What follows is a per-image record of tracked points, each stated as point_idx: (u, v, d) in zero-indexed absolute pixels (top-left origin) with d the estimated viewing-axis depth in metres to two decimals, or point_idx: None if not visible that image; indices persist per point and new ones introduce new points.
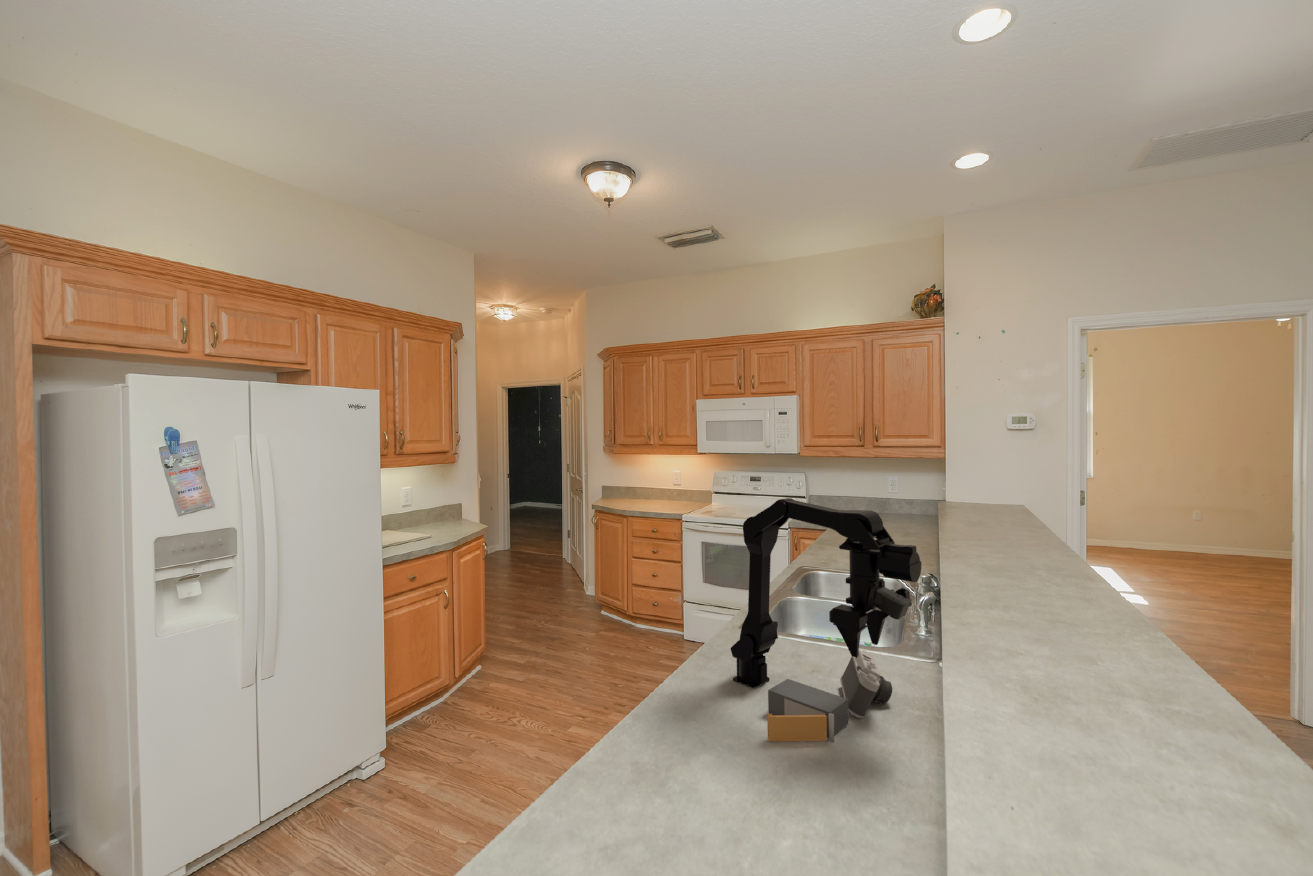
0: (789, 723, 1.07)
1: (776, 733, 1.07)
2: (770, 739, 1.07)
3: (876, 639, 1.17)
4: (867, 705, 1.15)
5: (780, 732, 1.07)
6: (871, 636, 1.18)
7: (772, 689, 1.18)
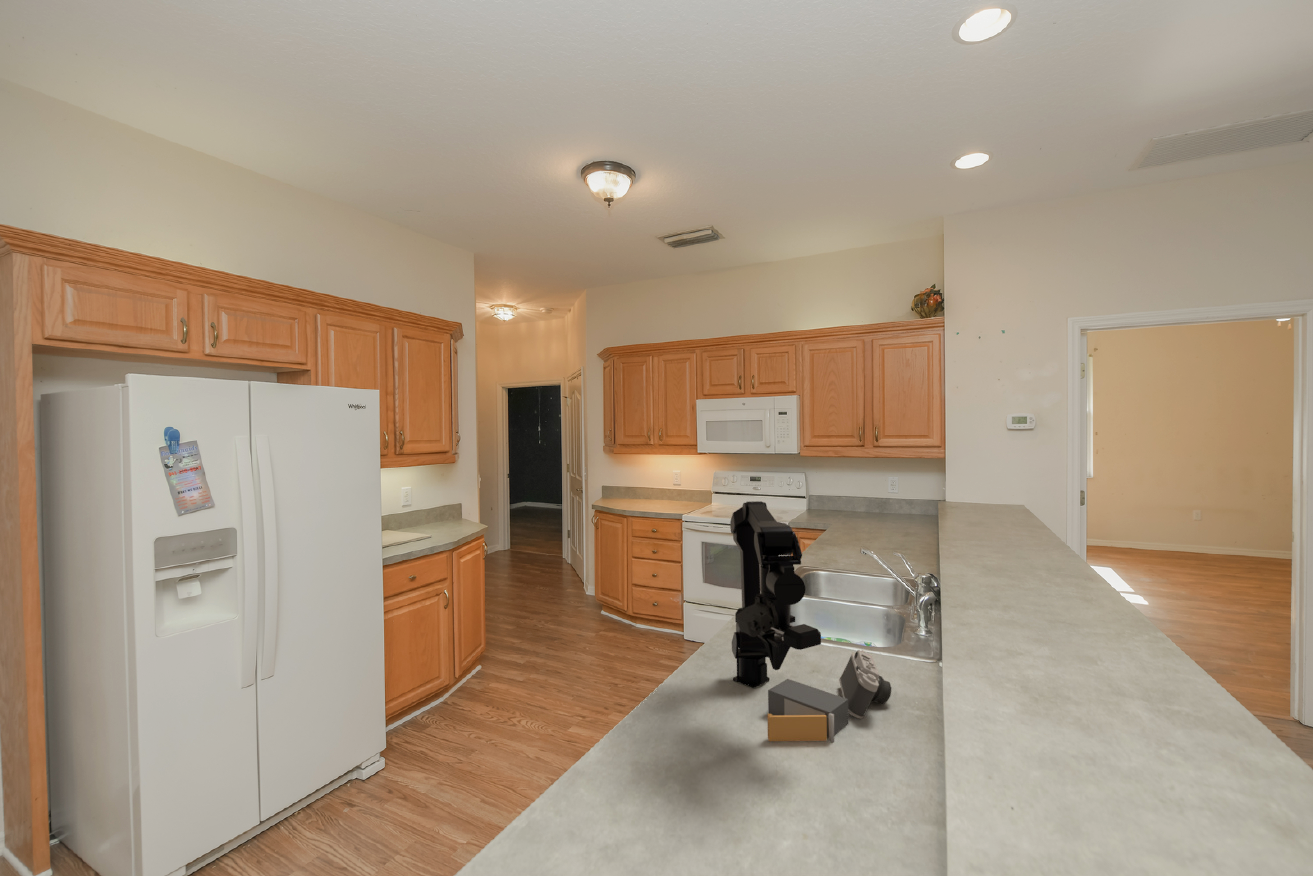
0: (789, 723, 1.07)
1: (776, 733, 1.07)
2: (770, 739, 1.07)
3: None
4: (866, 705, 1.15)
5: (780, 732, 1.07)
6: None
7: (772, 689, 1.18)
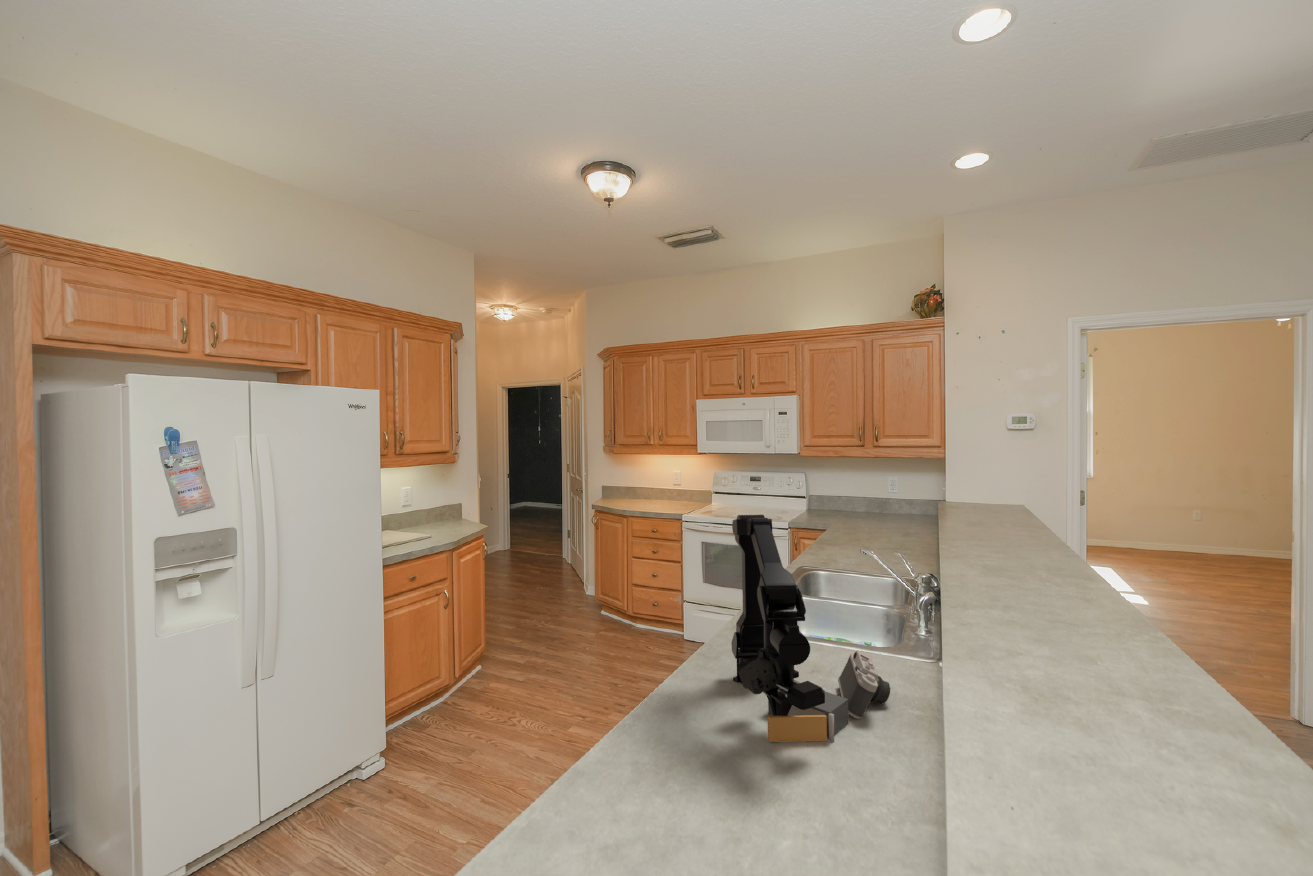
0: (789, 723, 1.07)
1: (776, 733, 1.07)
2: (770, 740, 1.07)
3: None
4: (865, 706, 1.15)
5: (780, 732, 1.07)
6: None
7: None
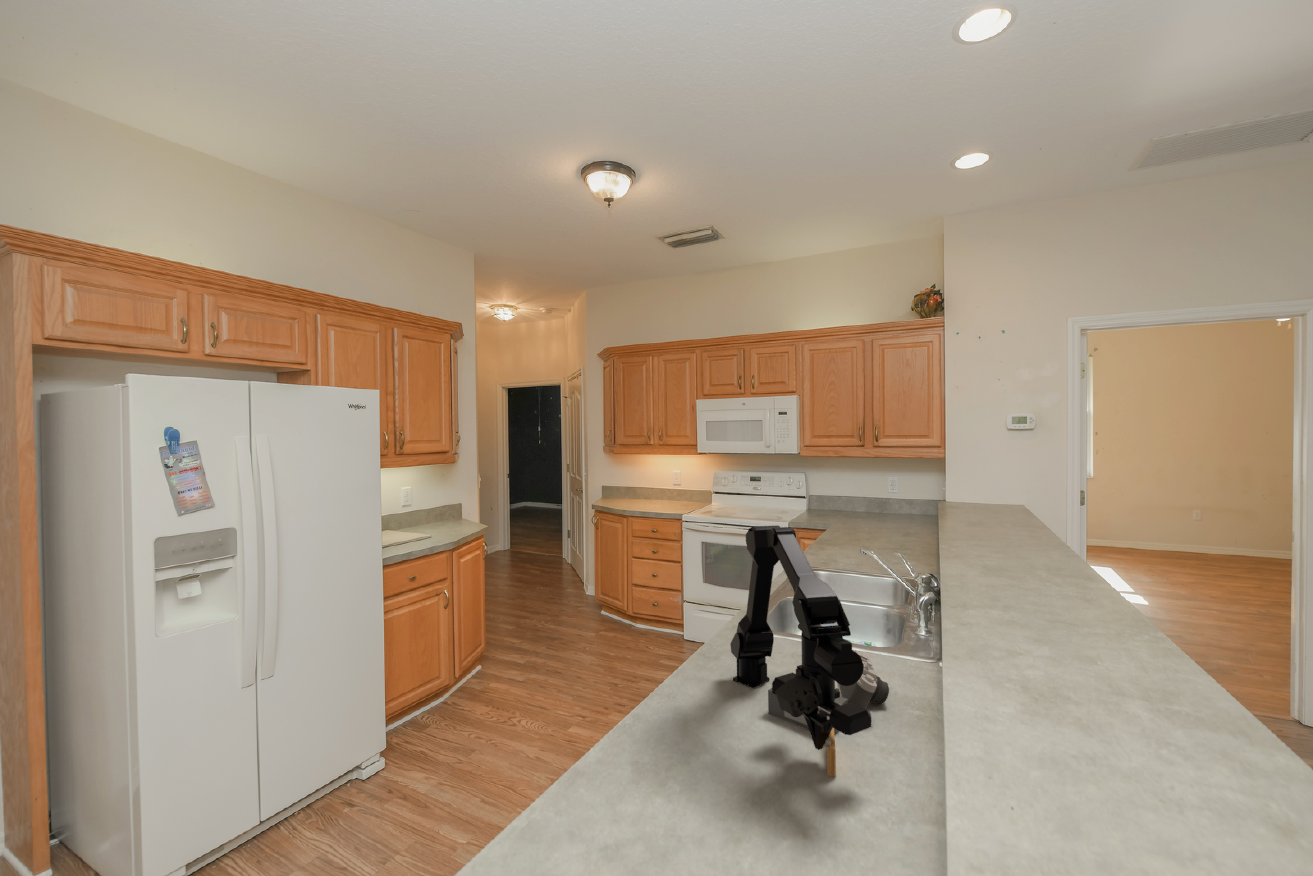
0: None
1: None
2: (835, 773, 0.96)
3: None
4: (864, 706, 1.15)
5: None
6: None
7: None
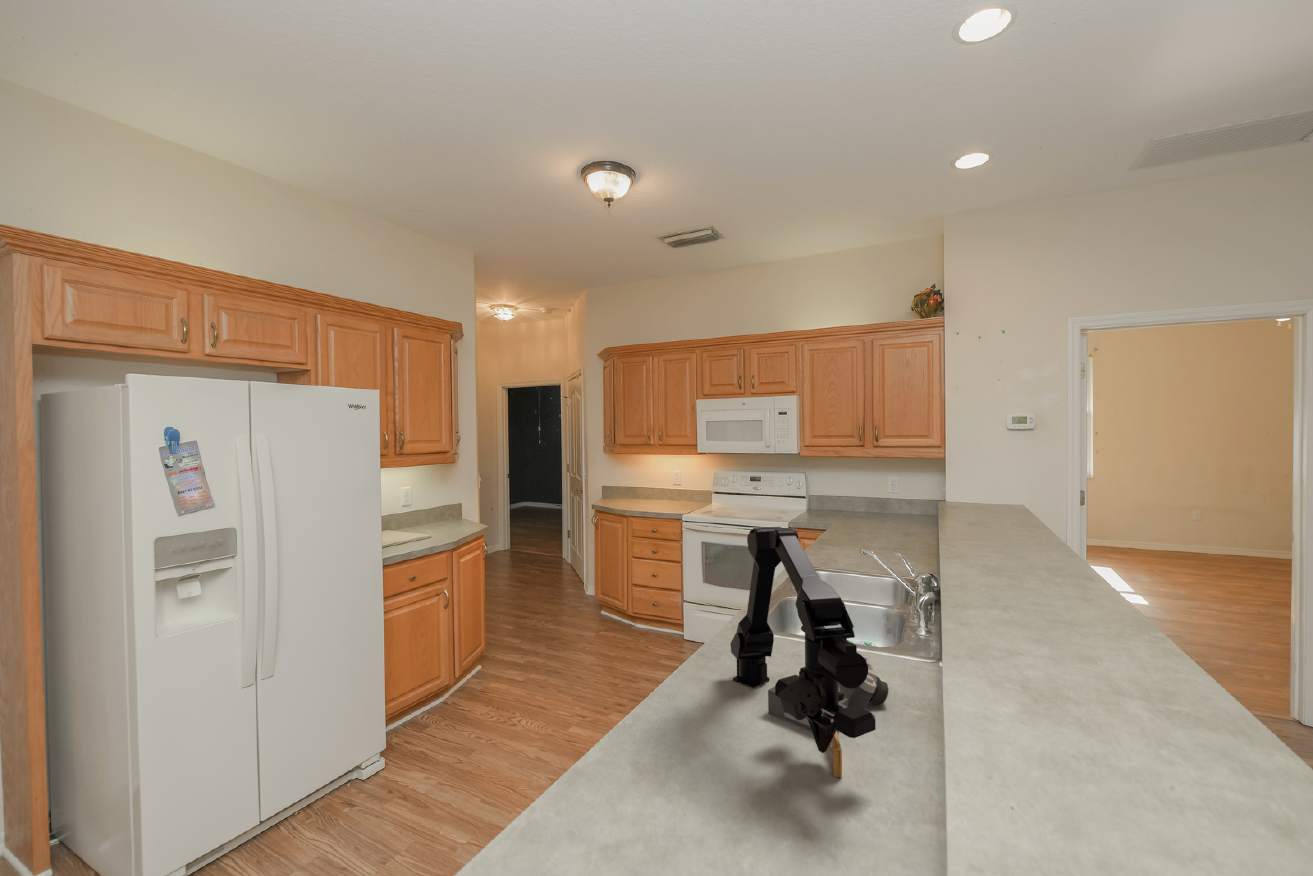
0: None
1: None
2: (841, 774, 0.96)
3: None
4: (864, 706, 1.15)
5: None
6: None
7: (772, 689, 1.18)
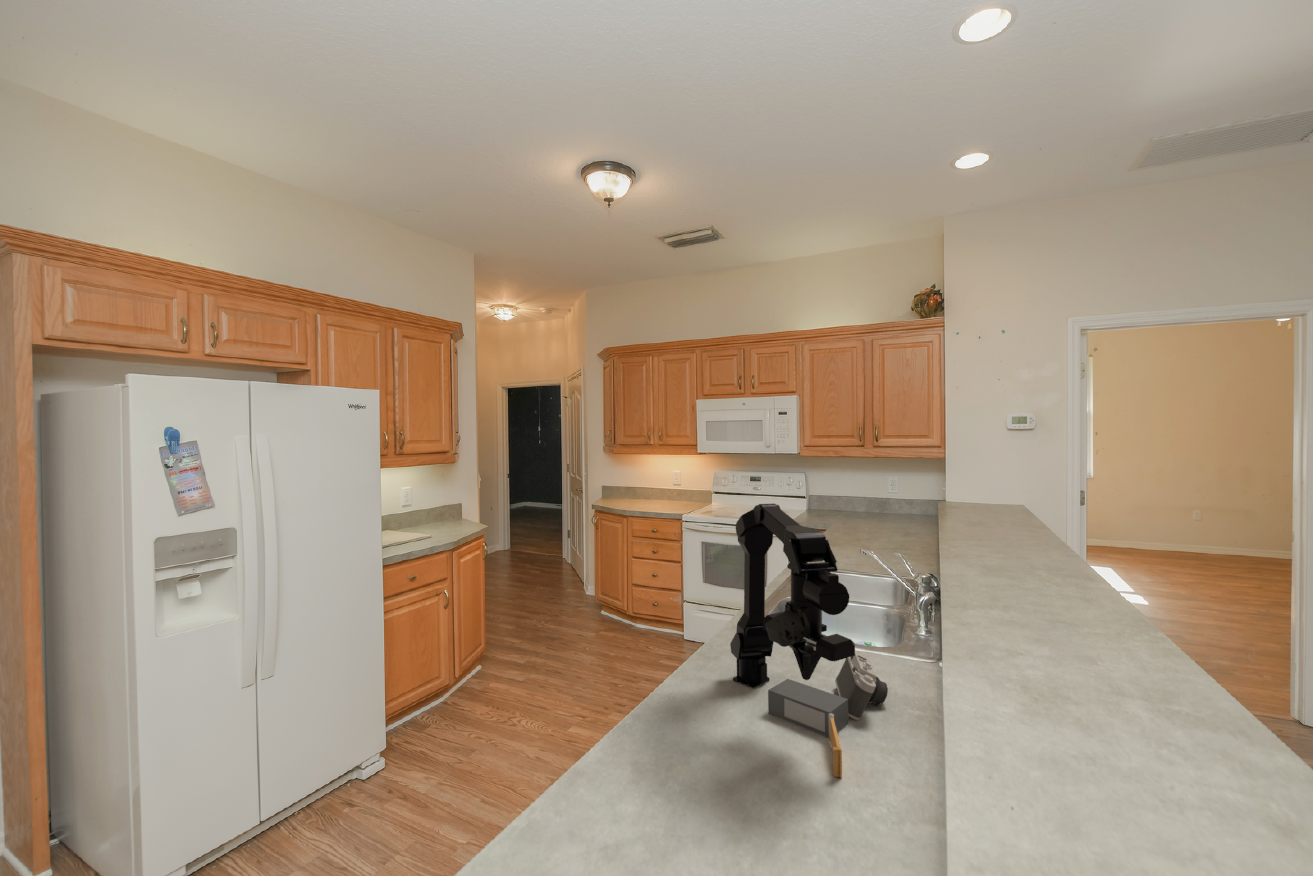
0: None
1: None
2: (841, 774, 0.96)
3: None
4: (863, 706, 1.14)
5: None
6: None
7: (772, 689, 1.18)
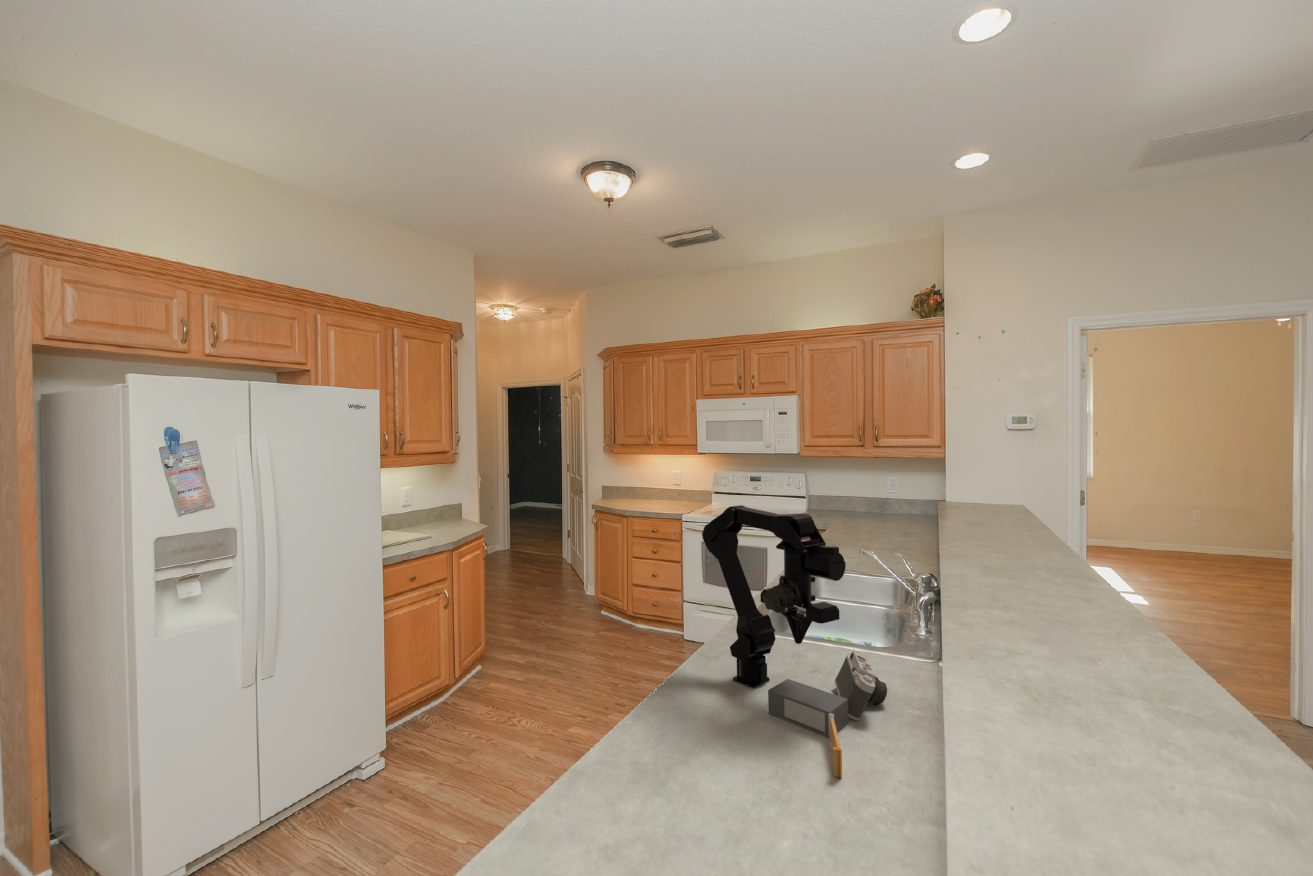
0: None
1: None
2: (841, 774, 0.96)
3: None
4: (863, 707, 1.14)
5: None
6: None
7: (772, 689, 1.18)
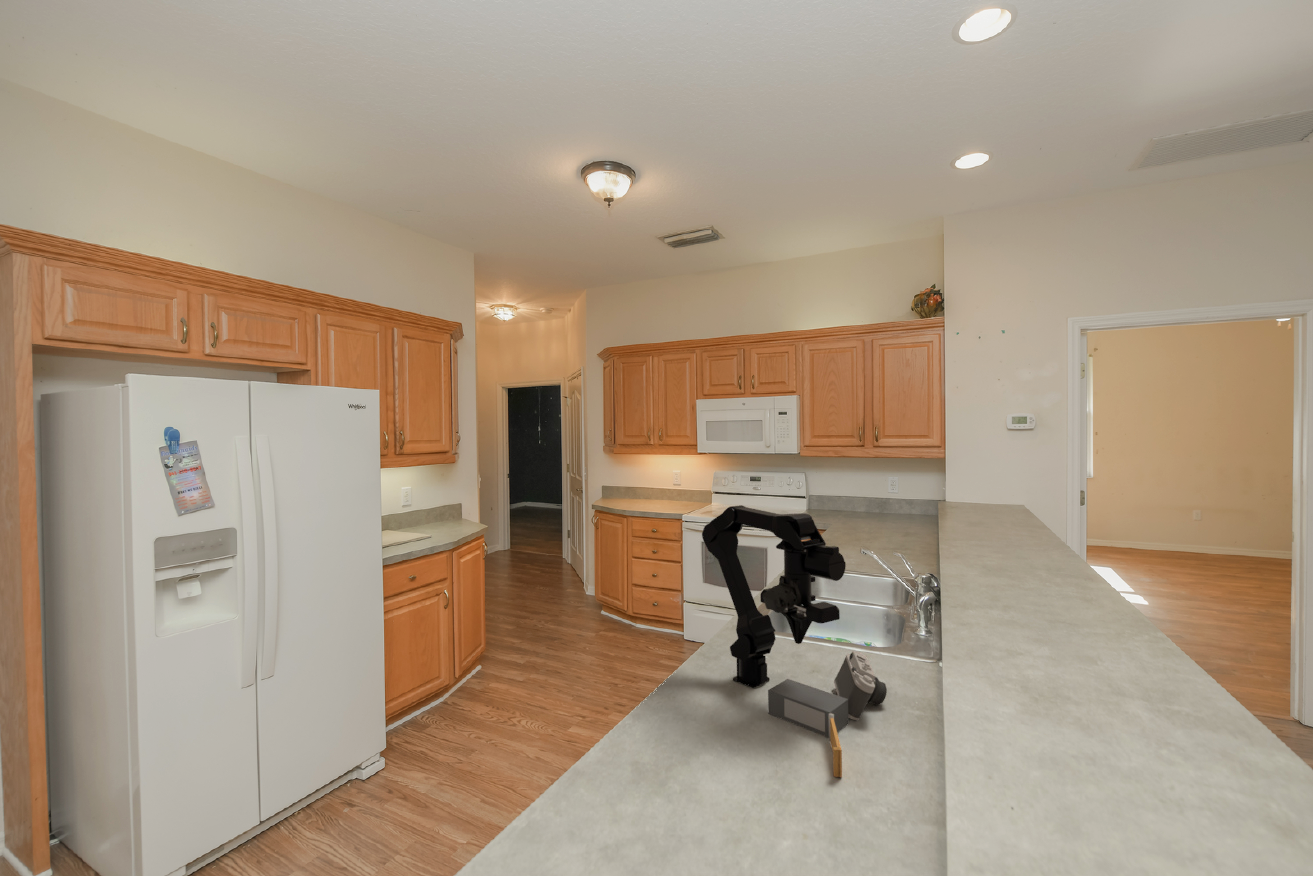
0: None
1: None
2: (841, 774, 0.96)
3: None
4: (863, 707, 1.14)
5: None
6: None
7: (772, 689, 1.18)
